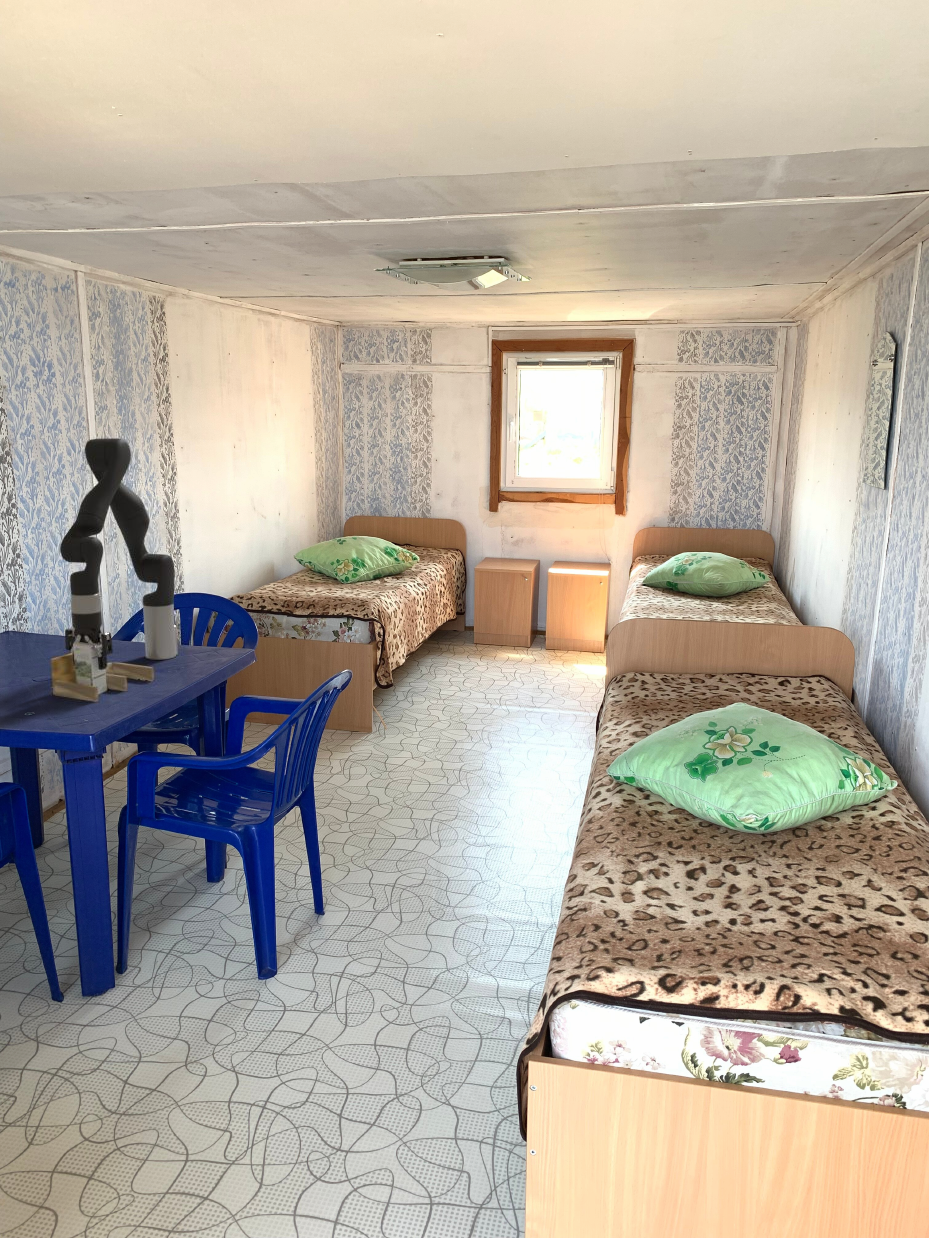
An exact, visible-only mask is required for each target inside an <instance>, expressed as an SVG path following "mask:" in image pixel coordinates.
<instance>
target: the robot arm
mask: <svg viewBox="0 0 929 1238" xmlns="http://www.w3.org/2000/svg"><path fill="white" fill-rule="evenodd" d="M84 454H85V459H86V461H87V464H88V466H89V469H90V471H91V473H92V474H93V476H94V477H95V480H96V481H97V484H96V485H95V486H93V488H91V489H90V490H89V492H88V493H87V494H85V496H84V498H83V499H82V501H81V503H80V506H79V509H78V512H77V516H76V519H75V521H74V522H73V523H72V525H71V527H70V528H69V530H68V531H67V532H66V533H65V535H64V537H63V538H62V540H61V543H60V547H59V552H60V555H61V558H62V559H63V560H64V561H65V562H67V563H73V564H75V563H79V564H81V563H82V564H83V563H84V564H85V567H84V569H83V570H79V571H75V572H72V573H71V574H70V576H69V584H70V585H69V588H70V612H71V613H70V614H71V625H72V627H71V628H66V629H64V634H65V635H64V636H65V638H64V641H65V642H64V643H65V644H64V645H65V650H66V651H70V653H72V654H73V663H74V666H75V661H74V648H73V644H74V643H80V642H82V643H89V644H90V645H92V646H93V650H94V651H96V653H97V655H98V656H99V657H98V667H99V670H103V669H106V667H107V663H108V655H111V654H113V653H114V650H113V641H112V640H113V639H112V633H111V632H110V631H107V632H102V631H101V628H102V625H103V618H102V605H101V604H102V602H101V596H100V587H99V585H100V584H99V575H100V570H101V564H102V561H103V556H104V545H103V542H101V540H100V539H99V538H98V537H95V536H97V535H99V534H101V533H102V531H103V530H104V529H103V528H104V526H105V521H106V519H107V515H108V512H109V509H110V510H111V512H112V515H113V517H114V520H115V523H116V525H117V527H118V528H119V530H120V533H121V535H122V538H123V540H124V543H125V545H126V548H127V550H128V551H127V552H128V553H129V557H130V560H131V563H132V567H133V570H134V572H135V576H136V577H137V578H138V580H139V581H141V582H142V583H145V584H146V583H148V584H156V589H155V590H154V591H152V592H150V593H147V594H144V595H143V597H142V608H143V609H142V610H143V612H142V613H143V628H144V629H143V630H144V644H145V645H144V646H145V647H144V648H145V658H146V659H149V660H169V659H172V658H174V657H175V658H176V655H178V654H179V651H178V650H179V649H178V632H177V625H175V610H174V608H175V607H174V604H175V603H174V597H175V574H176V573H175V563H174V560H173V558H172V556H171V555H168V554H165V553H164V554H161V553H149V552H148V550H147V548H146V545H145V538H146V536H147V532H148V531H149V527H150V517H149V516H150V515H149V514H148V512H147V509H146V507H145V504H144V502H143V501H142V499H141V498H140V497H139V496H138V495H137V493H135V492H134V491H133V490H132V489H131V488H130V487H128V485H126V484H124V483H123V482H122V481H123V479H124V477H125V475H126V473H127V471H128V468H129V466H130V462H131V460H132V459H131V458H132V451H131V447H130V445H129V444H128V442H127V440H125V439H124V438H119V437H118V438H117V437H116V438H114V437H113V438H109V437H108V438H92V439H89V440H88V441H87V442H86V443H85V446H84ZM98 642H99V643H100V645H98V646H96V645H95V644H98ZM100 650H101V651H102V652H101V651H100Z"/></svg>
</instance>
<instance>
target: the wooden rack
mask: <svg viewBox="0 0 929 1238" xmlns="http://www.w3.org/2000/svg"><path fill="white" fill-rule="evenodd" d="M50 667H51V669H50V670H51V680H52V681H51V682H52V694H53V695H54V696H56V697H57V696H58V697H63V698H71V699H76V700H82V701H89V702H95V703H96V702H99V694H98V687H97V686H91V685H85V684H78V683H76V673H75V666H74V663H73V654H72V653H71V652H70V653H68V654H67V653H66V654H64V655H59V656H56V657H53V658H50ZM105 673H106V685H107V690H115V691H121V692H126V691H128V679H132V680H138V679H140V681H145V680H148V681H147V682H154V681H155V677H154V676H155V669H154V667H153V666H148V665H147V666H145V665H139V664H132V663H126V662H125V663H124V662H116V661H115V662H107V667H106V669H105ZM153 680H154V681H153Z"/></svg>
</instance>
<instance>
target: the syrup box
mask: <svg viewBox="0 0 929 1238" xmlns="http://www.w3.org/2000/svg"><path fill="white" fill-rule="evenodd" d="M95 645H96V646H98V645H100V643H99V642H98V644H95ZM73 648H74V661H75V673H76V683H78V684H85V685H91V686H97V687H98V695H100V694H102V693H103V694H104V693H105V692H107V690H108V689H107V685H106V673H105V669H103V670H99V667H98V657H99V656H98V655H97V653H96V651H94V650H93V646H92V645H90V644H89V643H82V642H80V643H74V644H73ZM100 651H101V650H100ZM101 652H102V651H101Z"/></svg>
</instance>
